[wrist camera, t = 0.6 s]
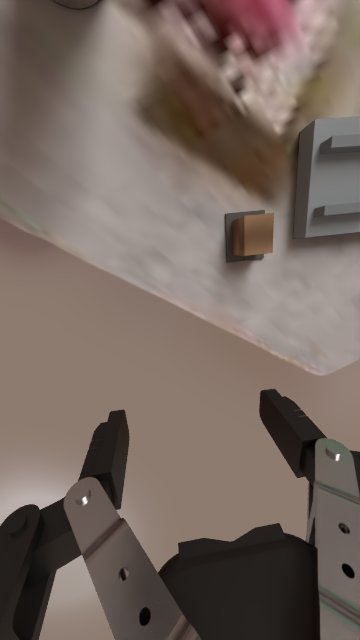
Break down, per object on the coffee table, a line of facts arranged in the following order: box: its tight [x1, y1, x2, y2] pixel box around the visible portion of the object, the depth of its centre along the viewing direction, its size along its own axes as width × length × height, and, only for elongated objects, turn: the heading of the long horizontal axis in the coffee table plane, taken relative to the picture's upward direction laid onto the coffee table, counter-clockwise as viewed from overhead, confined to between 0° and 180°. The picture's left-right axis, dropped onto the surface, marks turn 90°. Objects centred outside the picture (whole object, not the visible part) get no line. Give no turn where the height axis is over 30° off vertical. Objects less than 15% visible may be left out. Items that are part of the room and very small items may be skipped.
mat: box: [225, 210, 265, 262], centre depth 33 cm, size 7×6×1 cm
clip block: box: [233, 213, 274, 256], centre depth 31 cm, size 5×4×4 cm
